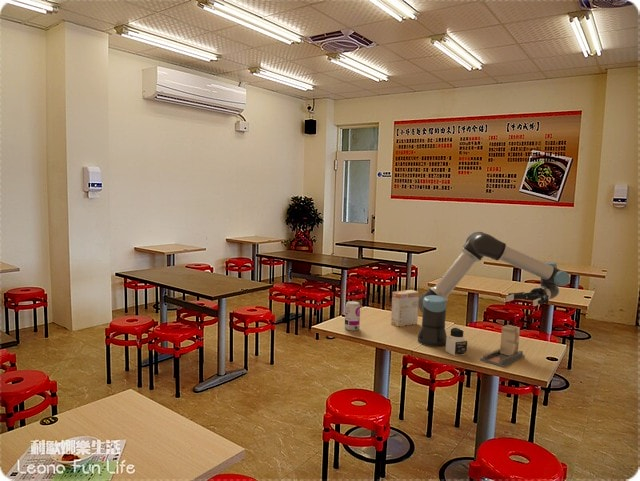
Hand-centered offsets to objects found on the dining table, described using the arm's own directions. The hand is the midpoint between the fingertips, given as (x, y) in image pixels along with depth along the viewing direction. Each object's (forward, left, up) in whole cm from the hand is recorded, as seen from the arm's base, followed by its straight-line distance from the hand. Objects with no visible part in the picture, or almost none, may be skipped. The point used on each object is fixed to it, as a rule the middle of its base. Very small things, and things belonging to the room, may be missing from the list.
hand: (520, 301), depth 228 cm
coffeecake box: (-63, +19, -26) cm, 71 cm away
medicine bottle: (-26, -18, -26) cm, 41 cm away
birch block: (-3, -8, -24) cm, 26 cm away
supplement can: (-85, -8, -26) cm, 89 cm away
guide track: (-5, -14, -26) cm, 30 cm away
